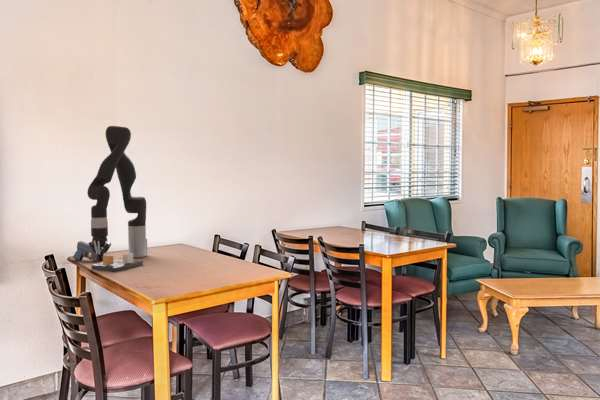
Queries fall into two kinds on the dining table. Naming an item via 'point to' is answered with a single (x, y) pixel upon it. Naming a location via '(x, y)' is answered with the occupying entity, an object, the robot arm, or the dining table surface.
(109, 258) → the fader orange
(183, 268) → the dining table surface
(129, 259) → the fader white
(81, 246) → the toy
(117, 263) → the console
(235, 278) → the dining table surface
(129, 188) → the robot arm
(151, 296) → the dining table surface
